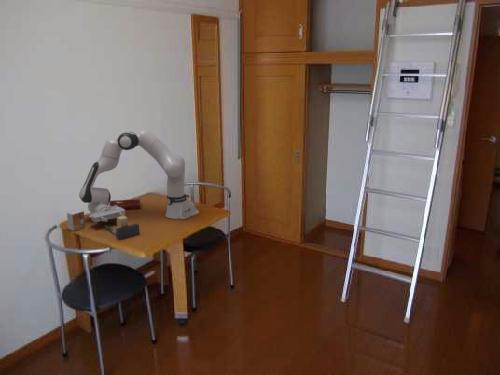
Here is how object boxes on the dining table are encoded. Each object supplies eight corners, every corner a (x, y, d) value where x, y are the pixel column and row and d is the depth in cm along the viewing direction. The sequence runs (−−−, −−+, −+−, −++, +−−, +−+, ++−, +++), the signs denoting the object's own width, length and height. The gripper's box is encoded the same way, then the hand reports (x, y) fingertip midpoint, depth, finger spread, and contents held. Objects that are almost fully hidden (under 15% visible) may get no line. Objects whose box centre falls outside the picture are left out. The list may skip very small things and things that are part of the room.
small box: (73, 231, 249) (72, 214, 246) (68, 229, 252) (66, 212, 249) (85, 227, 255) (84, 211, 252) (80, 225, 259) (78, 209, 256)
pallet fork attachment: (120, 223, 263) (119, 214, 262) (139, 234, 247) (139, 224, 246) (100, 228, 255) (99, 218, 253) (119, 240, 239) (118, 230, 237)
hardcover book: (141, 209, 288) (140, 204, 287) (109, 211, 284) (108, 205, 282) (141, 204, 300) (140, 198, 298) (110, 206, 295) (109, 200, 293)
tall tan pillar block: (124, 231, 251) (123, 215, 248) (128, 233, 248) (127, 217, 245) (117, 233, 248) (116, 217, 245) (121, 235, 245) (120, 219, 242)
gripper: (87, 211, 254) (97, 217, 245) (118, 204, 268) (129, 209, 259) (88, 220, 256) (98, 227, 247) (119, 213, 270) (129, 219, 260)
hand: (114, 218), depth 253 cm, fingers open, 8 cm apart
